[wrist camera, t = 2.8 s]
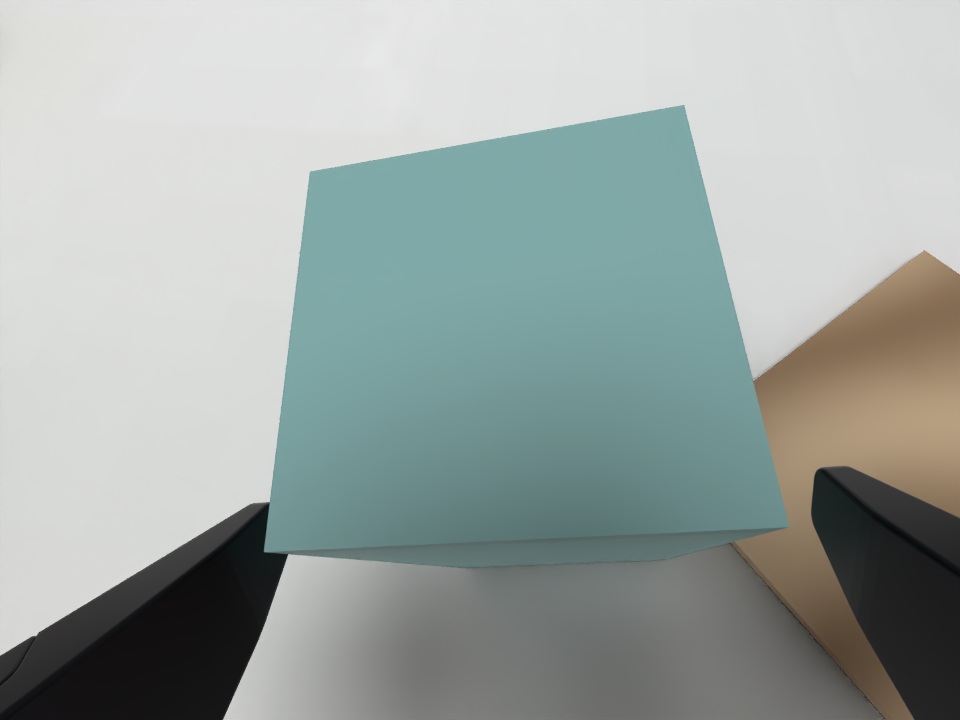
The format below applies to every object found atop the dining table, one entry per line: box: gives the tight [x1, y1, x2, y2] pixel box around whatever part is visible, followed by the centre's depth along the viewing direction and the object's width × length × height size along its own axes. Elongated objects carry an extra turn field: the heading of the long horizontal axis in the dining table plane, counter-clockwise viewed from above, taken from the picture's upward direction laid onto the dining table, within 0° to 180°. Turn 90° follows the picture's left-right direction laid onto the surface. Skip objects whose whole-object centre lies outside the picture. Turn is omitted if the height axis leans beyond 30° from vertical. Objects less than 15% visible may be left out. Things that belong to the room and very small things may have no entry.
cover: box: [264, 105, 789, 568], centre depth 13 cm, size 7×7×12 cm
